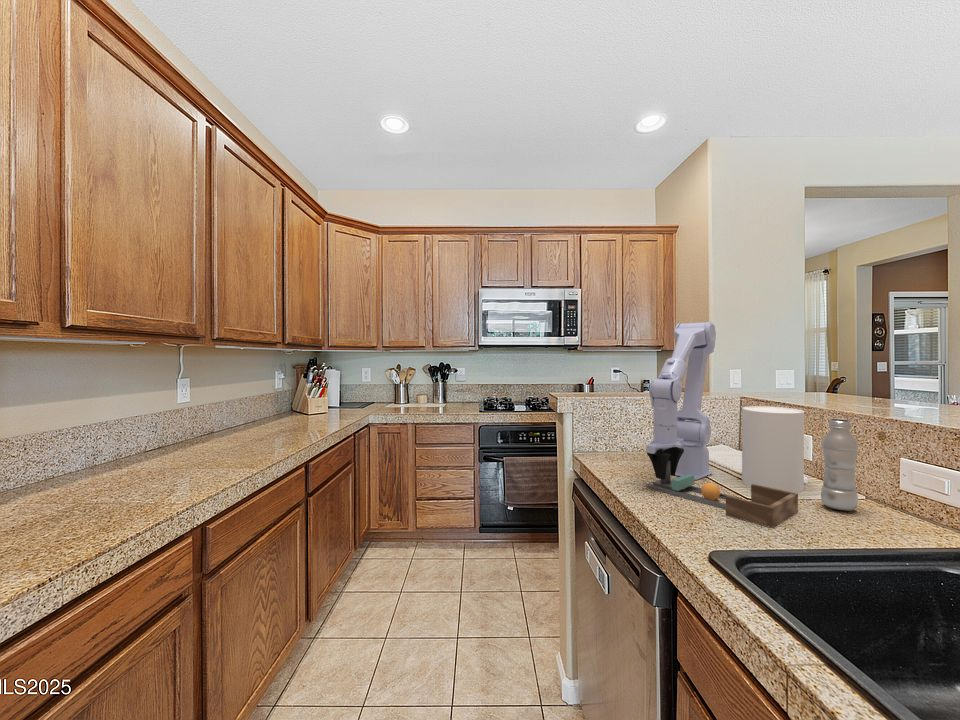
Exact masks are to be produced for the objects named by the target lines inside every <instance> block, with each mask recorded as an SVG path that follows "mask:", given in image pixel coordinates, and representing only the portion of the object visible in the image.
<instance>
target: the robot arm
mask: <svg viewBox="0 0 960 720" xmlns="http://www.w3.org/2000/svg"><path fill="white" fill-rule="evenodd" d="M673 337H674V341H675V344H674V345H675V346H674V348H673V352H672V354H671V355H672V356H671V357H668V358H667V359H666V360H665V362H664V363H663V365H662V368H661V370H660V372H659V375H658V377H657V378H655V379H654V380H652V381H651V382H650V384H649V390H648V392H649V397H650V401H651V402H650V403H651V404H650V405H651V407H653V440H652V441H651V442H650V443H648V444H646V445H645V450H646V451H645V452H646V454H647V456H648V457H649V459H650V462H651V465H652V468H653V470H654V474H655V478H656V479H659V480H661V479H665V476H666V467H667V462H668V460H669V461H670V473H671V477H675V476H676V477H677V476H678V477H681V476H684V475H687V474H691V475H694V481H697V480H700V479H702V478H705V477H708V476H711V475H713V471H710V451H709V448H708V447H707V446H706V445H707V444H708V443H709V442H710V440H711V434H712V433H711V432H712V431H711V420H710V417H708V415H706V414H705V413H704V412H702V401H703V395H704V386H705V380H706V379H705V377H706V369H707V363H708V362H707V361H708V356H709V355H710V354H712V353H714V352H715V351H714V349H715V345H716V339H717V338H716V337H717V332H716V326H715V324H714V323H713V322H712V321H707V322H706V321H705V322H704V321H703V322H687V323H682V322H678V323H677V324H676V326H675V327H674V329H673ZM686 362H687V363H686ZM684 377H685V383H684V390H683V383H682V382H683V380H684ZM682 392H683V398H682V406H681V408H680V409H679V410H678V402H679V401H680V399H681V397H682ZM710 474H711V475H710ZM707 475H708V476H707Z"/></svg>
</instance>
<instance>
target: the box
mask: <svg viewBox="0 0 960 720" xmlns="http://www.w3.org/2000/svg"><path fill="white" fill-rule="evenodd" d="M732 496H733V495H731V496H726V499H725V504H726V509H725V515H726V516H729V517H732V518H737V519H740V520H743V521H747V522H751V523H754V524H757V525H760V524H761V525H760V526H764V525H765V527H767V526H769V527H768V528H771V527H773V528H775V527H776V526H778V525H780V524H781V523H783V522H785V521H786V520H788V519H790V518H791V517H793V516H794V515H796V514H797V513H798V512H799V493H792V492H787V491H783V490H778V489H774V488H769V487H764V486H760V485H755V484H752V485H751V487H750V500H748V499H743V498H742V499H740V498H741V497H739V498H736V497H737V496H735V497H732Z"/></svg>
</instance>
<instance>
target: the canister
mask: <svg viewBox="0 0 960 720" xmlns="http://www.w3.org/2000/svg"><path fill="white" fill-rule="evenodd" d="M741 423H742V424H741V482H742V483H743V484H744V485H745V486H747V487H749V488H751V485H752V484H755V485H760V486H764V487H769V488H774V489H778V490H783V491H787V492H792V493H796V492H799V493H802V492H803V491H804V490H805V467H804V466H805V465H804V464H805V411H804V410H803V409H798V408H792V407H785V406H783V407H782V406H768V405H765V406H764V405H763V406H762V405H760V406H759V405H758V406H757V405H751V406H743V407H741ZM801 491H802V492H801ZM796 494H797V493H796Z"/></svg>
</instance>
